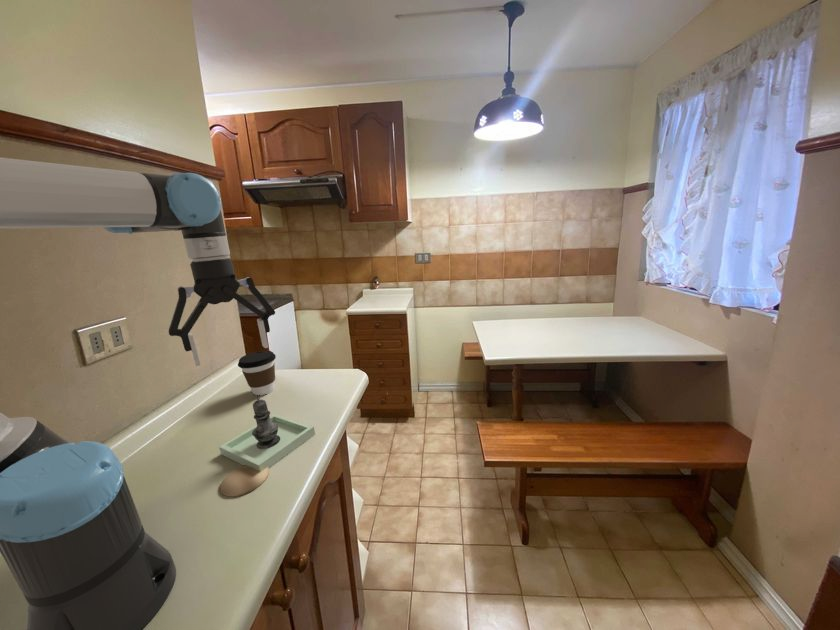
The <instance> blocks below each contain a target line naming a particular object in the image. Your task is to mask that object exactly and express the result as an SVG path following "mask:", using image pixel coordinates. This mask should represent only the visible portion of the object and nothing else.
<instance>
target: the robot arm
mask: <svg viewBox="0 0 840 630" xmlns="http://www.w3.org/2000/svg"><path fill="white" fill-rule="evenodd" d="M223 218H224V217H223V214H222V201H221V195H220V193H219V192H218V190H217V187H216V186H215V184H214V183H213V182H212V181H211V180H210V179H207V178H206V177H205V176H203V175H200V174H199V173H193V172H184V173H183V172H178V173H173V174H171V175H168V174H167V175H166V174H156V173H147V172H145V173H144V172H137V171H128V170H118V169H109V168H103V167H102V168H101V167H100V168H99V167H92V166H82V165H75V164H74V165H73V164H66V163H54V162H46V161H45V162H44V161H35V160H27V159H19V158H18V159H17V158H10V157H0V229H68V228H69V229H70V228H71V229H74V228H78V229H81V228H82V229H84V228H86V229H87V228H103V229H104V230H105V231H107V232H109V233H113V234H129V235H133V234H135V233H137V234H138V233H156V232H167V231H168V232H171V231H175V232H176V231H178V232H179V231H181V235H182V237H183V241H184V247H185V250H186V253H187V258H188V259H189V260H192V261H191V262H190V264H189V266H190V270H191V274H192V277H193V280H194V281H193V282H194V285H193V286H183V285H182V286H179V287H177V294H178V299H177V301H176V305H175V308H174V312H173V315H172V318H171V321H170V324H169V328H168V335H169V336H170V337H176V336H177V337H179V338H181V341H182V345H183V348H184V350H185V352H190V351H191V353H192V357H193V361H194V364H195V367H199V366H201V361H200V358H199V355H198V350H197V347H196V343H195V338H194V336H193V333H191V330H192V329H193V327H194V326H195V324H196V322H197V321H198V320H199V318H200V316H201V315H202V313H203V311H204V310H205V309H206V307H207V306H209V305H208V304H210V305H218V304H220V303H230V302H232V300H233V299H234V300H235V301H236V302H238V303H240V304H241V305H242V306H244V307H245V308H247V309H248V310H249V311H251V312H253V313H254V314H255V315H257V316H258V317H259V318H258V319H256V322H257V326H258V330H259V337H260V342H261V345H262V347H263V348H264V349H267V348H269V342H268V338H267V333H270V332H271V330H270V324H269V318H270V317H271V316H274V315H275V314H276V311H275V309H274V308H273V307H272V306H271V304H270V303H269V302H268V301H267V300H266V298H265V297H264V296H263V295H262V293H261V292H260V291H259V290H258V289H257V287H256V285H255V283H254V279H253V278H252V277H249V276H246V277H244V278H242V279H237V277H236V273H235V268H234V263H233V260H232V259H231V258H230V257H229V256H230V255H231V251H230V247H229V242H228V239H227V237H228V236H227V233H226V228H225V223H224V219H223ZM241 286H242V287H243V288H245V289H248V291H249V292H250V293H251V295H252V296H253V297H254V298H255V299H256V301H257V302H258V303H259V304H260V305H261V306H262V308H263V309H264V312H263V311H262V310H261V309H260V308H258V307H257V306H255V305H254V304H252V303H251V302H250V301H248V300H246V299H245V298H244V297H243V296H241V295H240V294H239V293H237V292H238V290H239V288H240V287H241ZM192 293H195V294H196V295H197V296H199V297H200V299H198V302H197V304H196V305H195V307H194V309H193V310H192V312H191V313H190V315H189V316H188V318H187V320H186V321H185V323H184V324H183V326H182V327H181V328H179V326H180V323H181V320H182V317H183V312H184V310H185V307H186V303H187V299H189V298H190V297H192ZM121 463H122V462H121V461H120V460H119V458H118V457H117V456H116V455H115V453H114V451H113V450H112V449H111V448H110V447H109V446H108V445H106V444H104V443H102V442H99V441H89V440H87V441H86V440H84V441H80V442H78V443H74V442H69V440H66V439H65V438H63V437H61V436H60V435H59V434H57V433H56V432H54V431H53V430H52V429H50V428H49V427H47V426H46V425H44V423H42V422H41V421H38V420H37V419H36V418H35V417H32V416H17V417H8V416H7V415H5V414H4V413H2V412H0V555H1V556H2V558H3V559H4V561H5V563H6V565H7V567H8V568H9V570H10V572H11V574H12V576H13V577H14V579H15V581H16V583H17V585H18V587H19V589H20V591H21V592H22V594H23V596H24V598H25V600H26V602H27V604H28V608H27V609H28V612H27V625H26V630H142V629H143V628H144V627H145V626H146V625H147V624H148V623H149V622H150V621H151V620H152V618H153V619H154V617H155V615H156V614H157V613H158V611H159V610H160V609H161V608H162V606H164V603H165V602H166V600H167V599H168V598H169V595H170V594H171V592H172V589H173V587H174V584H175V581H176V576H177V569H176V564H175V561H174V559H173V557H172V554H171V553H170V551H169V550H168V549H167V548H166V547H164V546H163V545H162V544H161V543H160V542H158V541H157V540H155V538H153V537H152V536H151V535H149V534H148V533H147V532H146V531H145V529H144V526H143V524H142V523H143V522H142V521H141V517H140V515H139V513H138V509H137V507H136V504H135V502H134V499H133V496H132V494H131V491H130V488H129V485H128V483H127V481H126V477H125V474H124V468H123V465H122V464H121Z"/></svg>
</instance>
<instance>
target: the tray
mask: <svg viewBox="0 0 840 630" xmlns="http://www.w3.org/2000/svg"><path fill="white" fill-rule="evenodd" d="M270 420H271V422H276V423H278V424H279V427H278V432H277V435H278V436H280V441H279V442H278V443H277V444H276V445H275V446H273V447H271V448H268V449H259V448H257V443H258V440H256V438H255V437H254V436H253V435H252V431H253V430H254V429H255V428H256V427H257V424H255V425H253V426H251V427H249V429H246V430H244V431H243V432H242V433H240V434H238V435H237V436H234V437H233V438H231V439H230V440H228V441H227V442H225V443H223V444H221V445H219V446H218V449H219V451H220V455H221V456H224V457H226V458H228V459H230V460H232V461H234V462H236V463H238V464H240V465H241V466H243V465H247V466H249V467H251V468H253V469H256V470H258V471H260V472H261V471H262V470H264V469H265V468H266V467H268V469H270V468H271V467H272V466H274V465H275V464H277V463H278V462H279V461H281V460H283V458H284V457H286V456H288V455H289V454H290V453H292V452H293V451H294V450H295V449H297V448H299V446H302V444H303V443H305V442H306V441H307V440H309V439H310V438H312V437H313V436H314V435H316V432H315V426H314V425H313V426H312V425H310V424H308V423H303V422H301V421H299V420H295V419H292V418H290V417H286V416H284V415H283V416H282V415H280V414H277V413H274V414H272V415H270Z"/></svg>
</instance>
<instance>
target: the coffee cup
mask: <svg viewBox="0 0 840 630" xmlns="http://www.w3.org/2000/svg"><path fill="white" fill-rule="evenodd" d="M276 357H277V355H276V354H275V353H274V351H273V352H272V351H271V350H258V351H254V352H251V353H248V354H245V355H243V356H241V357H240V358H239V359H238V362H237V367H239V368H241V370H242V371H241V372H242V374H243V376H244V378H245V380H246V383H247V385H248V387H249V388H250V390H251V392H252V394H253V395H255V396H257V395H258V396H257V397H259V395H260V396H264V395H265V394H266V395H268V394H270V393H272V392H274V390H275V388H276V384H275V383H276V369H275V367H276V366H275V365H276V364H275V360H276Z"/></svg>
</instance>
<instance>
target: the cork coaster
mask: <svg viewBox="0 0 840 630" xmlns="http://www.w3.org/2000/svg"><path fill="white" fill-rule="evenodd" d="M269 469H270V468H268V467H266V468H265V469H264V470H262V471H261V472H260V471H258V470H256V469H253V468H251V467H249V466H247V465H241V466H239V467H237V468H235V469H233V470H232V471H231V472H229V473H228V474H227V475H226V476H225V477H224V478H223V479H222V481H221V483H220V491H221V494H223V495H224V496H226V497H230V498H231V497H233V498H234V497H240V496H243V495H244V496H245V495H246V494H249V493H251V492H254V491H255V490H256V489H257V488H259V487H260V486H262V485H263V483H265V482H266V480H267V479H268V477H269V475H270V470H269Z"/></svg>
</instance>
